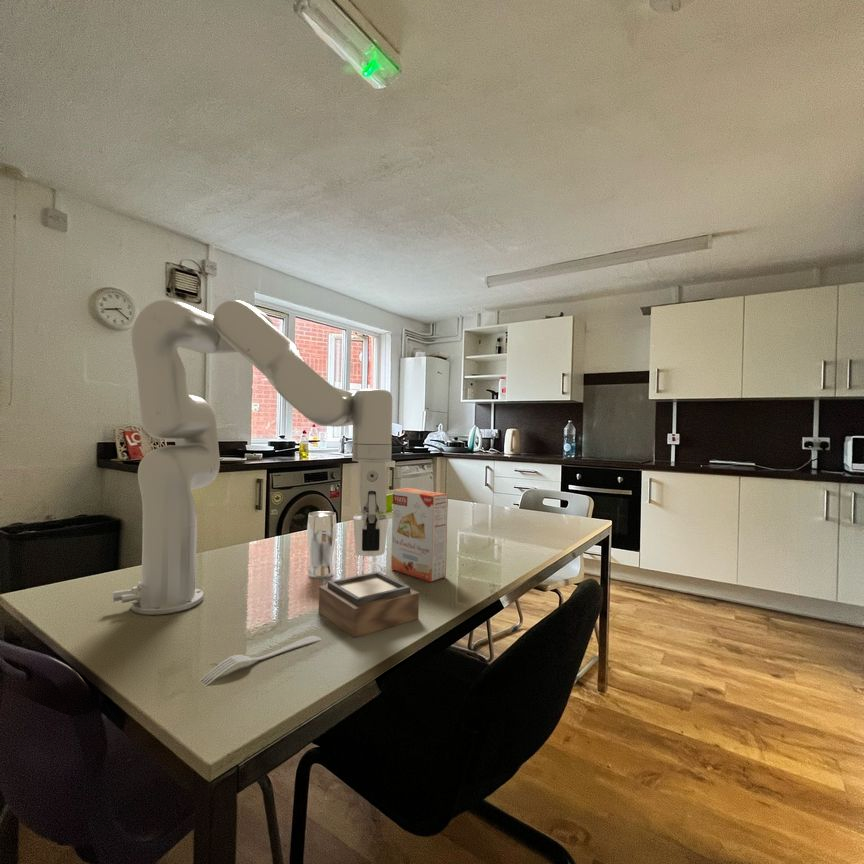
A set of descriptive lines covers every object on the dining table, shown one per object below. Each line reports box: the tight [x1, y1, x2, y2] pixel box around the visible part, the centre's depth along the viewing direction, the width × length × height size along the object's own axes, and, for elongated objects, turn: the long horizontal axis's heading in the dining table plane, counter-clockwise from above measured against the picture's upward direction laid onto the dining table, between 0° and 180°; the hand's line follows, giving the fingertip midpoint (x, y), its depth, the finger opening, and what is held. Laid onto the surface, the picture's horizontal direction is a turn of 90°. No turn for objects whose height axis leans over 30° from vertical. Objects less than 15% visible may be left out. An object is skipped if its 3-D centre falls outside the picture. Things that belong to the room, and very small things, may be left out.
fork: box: [199, 635, 323, 687], centre depth 73 cm, size 3×21×3 cm, turn 140°
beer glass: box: [306, 510, 337, 579], centre depth 114 cm, size 7×7×15 cm
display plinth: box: [318, 571, 420, 638], centre depth 91 cm, size 14×14×6 cm
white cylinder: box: [352, 513, 389, 557], centre depth 90 cm, size 7×7×7 cm
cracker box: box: [390, 487, 449, 583], centre depth 117 cm, size 14×6×21 cm, turn 48°
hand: (370, 544), depth 90 cm, fingers closed on white cylinder, 6 cm apart
